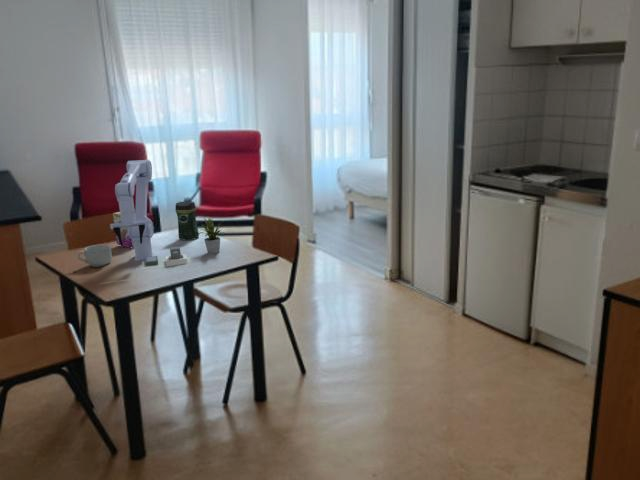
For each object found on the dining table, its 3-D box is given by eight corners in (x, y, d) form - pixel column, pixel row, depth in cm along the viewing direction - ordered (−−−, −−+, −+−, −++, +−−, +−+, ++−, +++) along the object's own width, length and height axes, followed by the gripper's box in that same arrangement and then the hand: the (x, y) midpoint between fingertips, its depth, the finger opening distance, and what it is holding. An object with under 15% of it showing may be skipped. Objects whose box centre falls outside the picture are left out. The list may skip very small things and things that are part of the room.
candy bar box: (116, 246, 289) (111, 213, 285) (124, 244, 293) (120, 211, 289) (132, 248, 283) (127, 214, 279) (140, 246, 287) (136, 212, 283)
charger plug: (171, 261, 255) (169, 247, 253) (180, 259, 256) (179, 246, 254) (171, 263, 251) (170, 249, 249) (181, 262, 252) (180, 248, 250)
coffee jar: (201, 236, 300) (197, 200, 296) (194, 240, 293) (190, 203, 288) (183, 236, 303) (179, 200, 298) (176, 240, 295) (172, 203, 291)
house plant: (189, 252, 270) (185, 217, 266) (215, 246, 278) (212, 212, 275) (206, 258, 259) (202, 221, 255) (232, 251, 268) (229, 215, 264)
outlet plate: (142, 262, 257) (141, 257, 256) (189, 256, 262) (188, 251, 262) (142, 270, 245) (141, 264, 244) (192, 264, 250) (191, 258, 250)
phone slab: (145, 260, 258) (145, 257, 257) (157, 259, 259) (157, 255, 259) (146, 266, 249) (145, 262, 249) (158, 264, 251) (157, 260, 250)
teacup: (112, 260, 264) (110, 242, 262) (113, 266, 254) (111, 248, 252) (79, 265, 259) (76, 247, 257) (78, 271, 249) (76, 253, 247)
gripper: (108, 215, 238) (112, 248, 241) (145, 211, 242) (149, 244, 245) (109, 212, 245) (113, 244, 248) (145, 208, 249) (149, 240, 252)
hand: (131, 244), depth 247 cm, fingers open, 7 cm apart
